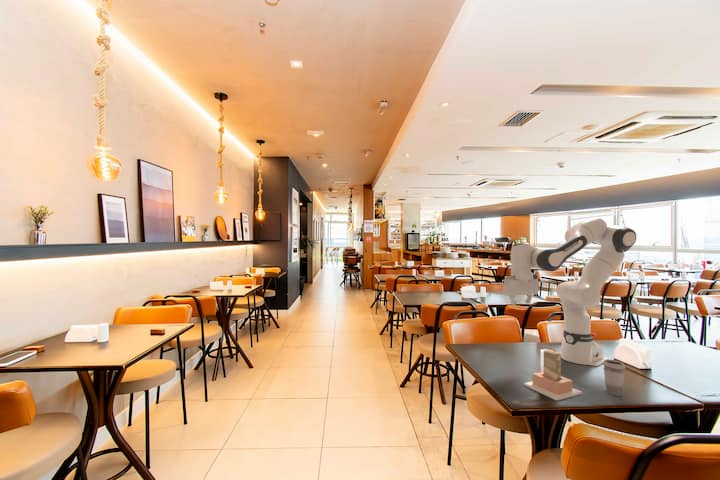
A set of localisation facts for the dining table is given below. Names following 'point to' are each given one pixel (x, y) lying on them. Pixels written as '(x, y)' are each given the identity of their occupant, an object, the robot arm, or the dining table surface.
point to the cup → (614, 376)
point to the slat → (552, 365)
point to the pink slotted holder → (552, 387)
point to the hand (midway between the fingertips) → (520, 304)
